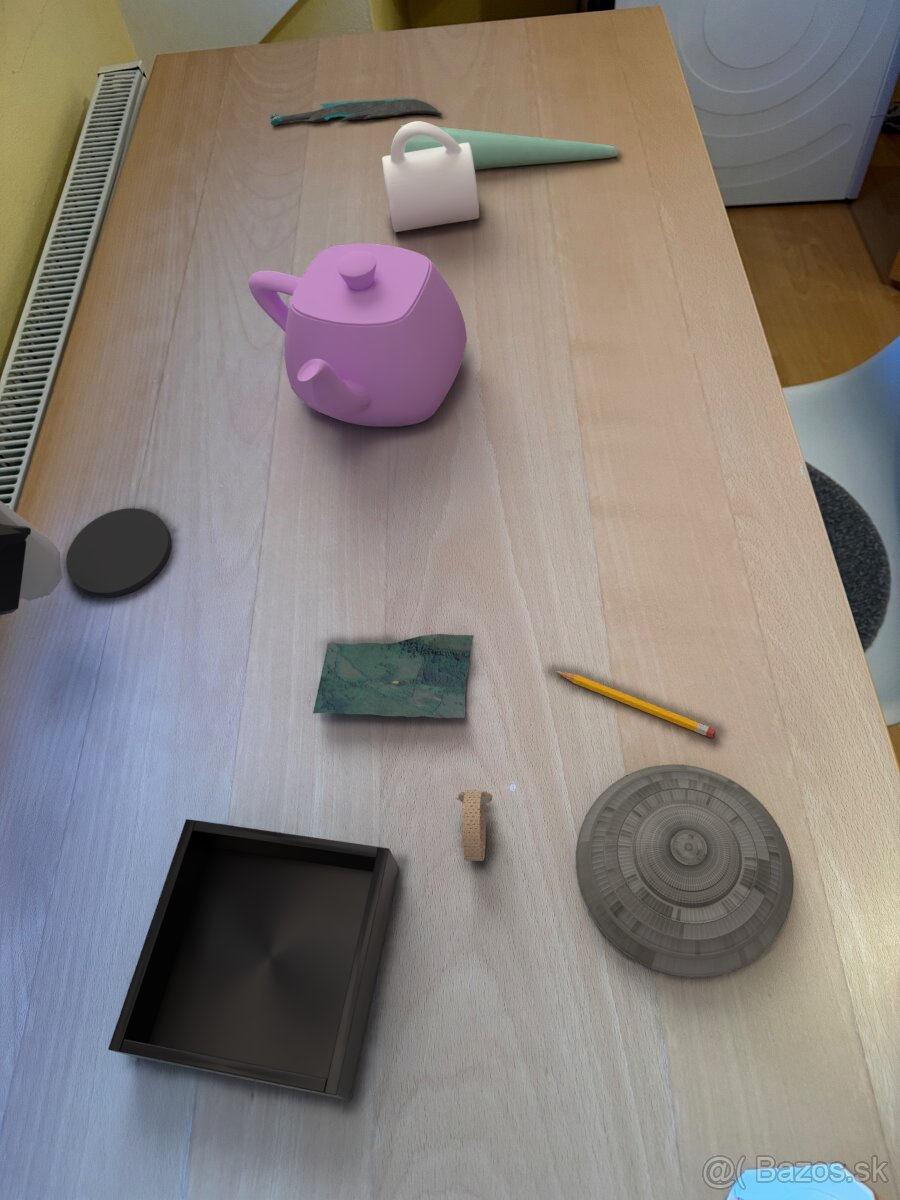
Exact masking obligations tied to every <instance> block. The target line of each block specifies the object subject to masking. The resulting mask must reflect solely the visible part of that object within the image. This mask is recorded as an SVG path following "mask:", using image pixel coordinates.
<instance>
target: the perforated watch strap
mask: <svg viewBox="0 0 900 1200" xmlns="http://www.w3.org/2000/svg"><path fill="white" fill-rule="evenodd" d="M455 798H456V800H457V801H459V802H461V803H462V804H463V805H462V845H463V855H464V858H463V859H464V860H465V861H466V862H484V860H485V856H486V841H487V840H486V836H487V833H486V832H487V825H486V822H487V821H486V817H487V816H486V807H488V804H490V802H492V800H493V795H492V793H490V792H488V791H484V790H479V789H469V790H464V791H461V792H459V793H458V796H456V797H455Z"/></svg>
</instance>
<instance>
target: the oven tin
mask: <svg viewBox="0 0 900 1200" xmlns="http://www.w3.org/2000/svg"><path fill="white" fill-rule="evenodd" d="M181 830H182V831H181V833H180V836H179V839H178V842H177V845H176V847H175V851H174V853H173V857H172V859H171V863H170V866H169V868H168V872H167V874H166V877H165V880H164V883H163V886H162V889H161V892H160V895H159V897H158V901H157V903H156V904H157V905H156V906H155V910H154V913H153V915H152V919H151V921H150V924H149V927H148V930H147V933H146V936H145V939H144V942H143V945H142V947H141V951H140V955H139V957H138V960H137V963H136V965H135V968H134V972H133V974H132V977H131V981H130V983H129V986H128V989H127V992H126V995H125V999H124V1000H123V1004H122V1007H121V1010H120V1012H119V1016H118V1019H117V1022H116V1025H115V1026H114V1031H113V1033H112V1037H111V1039H110V1042H109V1045H108V1051H111V1052H115V1053H119V1054H122V1055H124V1056H125V1055H126V1056H129V1057H132V1058H136V1059H142V1060H146V1061H151V1062H155V1063H160V1064H166V1065H171V1066H176V1067H181V1068H186V1069H190V1070H195V1071H201V1072H206V1073H211V1074H216V1075H220V1076H224V1077H229V1078H235V1079H240V1080H245V1081H250V1082H255V1083H260V1084H264V1085H268V1086H269V1085H270V1086H275V1087H280V1088H284V1089H290V1090H295V1091H299V1092H303V1093H309V1094H314V1095H319V1096H324V1097H329V1098H334V1099H339V1100H344V1101H349V1102H351V1101H352V1098H353V1094H354V1088H355V1084H356V1079H357V1074H358V1070H359V1069H358V1068H359V1064H360V1061H361V1060H360V1059H361V1054H362V1049H363V1044H364V1041H365V1034H366V1030H367V1025H368V1020H369V1015H370V1010H371V1006H372V1001H373V997H374V991H375V987H376V983H377V977H378V972H379V967H380V962H381V958H382V953H383V948H384V943H385V938H386V934H387V928H388V923H389V919H390V914H391V911H392V910H391V909H392V905H393V900H394V896H395V895H394V894H395V890H396V885H397V880H398V875H399V870H400V866H399V864H398V862H397V860H396V858H395V856H394V855H393V853H392V851H391V849H390V848H389V847H382V846H375V845H368V844H361V843H355V842H347V841H341V840H336V839H335V840H333V839H327V838H321V837H314V836H306V835H300V834H293V833H286V832H278V831H273V830H265V829H259V828H251V827H244V826H238V825H231V824H225V823H217V822H210V821H204V820H196V819H190V818H186V819H185V821H184V824H183V827H182V829H181Z"/></svg>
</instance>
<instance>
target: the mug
mask: <svg viewBox="0 0 900 1200" xmlns="http://www.w3.org/2000/svg"><path fill="white" fill-rule="evenodd" d="M403 125H404V126H403V127H402V128H401V127H400V128H399V129H398V130H397V132H396V133H395V135H394V136H393V139H392V142H391V147H390V154H389V155H383V156H382V158H381V163H382V172H383V178H384V187H385V194H386V200H387V204H388V209H389V216H390V220H391V225H392V229H393V232H395V233H398V232H405V231H410V230H417V229H423V228H429V227H434V226H442V225H449V224H453V223H459V222H465V221H472V220H478V219H479V217H480V204H479V194H478V186H477V185H478V184H477V177H476V170H475V169H474V162H473V156H472V150H471V146H470V144H469V143H468V142H467V143H461V144H458V143H457V142H456V141H455V140H454V139H453V138H452V137H451V136H450V135H449V134H447V133H446V132H445V131H443V130H442V129H440V128H438V127H439V126H438V127H437V126H436V125H435V124H432V123H429V122H426V121H420V120H417V121H416V120H415V121H411V122H410V121H409V122H408V123H406V124H403ZM416 135H425V136H429V137H431V138H433V139H435V140H437V141H438V142H440V143H441V144H442V145H443V147H437V148H431V149H425V150H419V151H413V152H407V153H404V152H405V147H406V144H407V142H408V141H409V139H410V138H412V137H414V136H416Z"/></svg>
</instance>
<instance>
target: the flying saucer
mask: <svg viewBox="0 0 900 1200" xmlns="http://www.w3.org/2000/svg"><path fill="white" fill-rule="evenodd" d="M575 872H576V878H577V879H576V880H577V884H578V887H579V892H580V895H581V898H582V900H583V902H584V904H585V907H586V908H587V911H588V913H589V914H590V917H591V918H592V920H593V921H594V923H595V924H596V926H597V927H598V928H599V929H600V931H601V932H602V934H604V936H605V937H606V938H607V939H608V940H609V941H610V942H611V943H612V944H613V945H614V946H615V947H616V948H617V949H619V950H620V951H621V952H622V953H624V954H625V955H627V956H628V957H629V958H631V959H633V960H634V961H636V962H638V963H639V964H642V965H643V966H646V967H647V968H650V969H653V970H655V971H658V972H661V973H665V974H667V975H672V976H677V977H685V978H707V977H713V976H720V975H724V974H727V973H730V972H732V971H735V970H738V969H740V968H742V967H744V966H746V965H747V964H749V963H751V962H753V961H754V960H755V959H757V958H759V956H761V955H762V954H763V953H764V952H765V951H766V950H767V949H768V948H769V947H770V946H772V944H773V942H775V940H776V938H778V936H779V935H780V933H781V931H782V929H783V927H784V925H785V923H786V921H787V919H788V916H789V913H790V910H791V906H792V902H793V896H794V886H795V885H794V884H795V875H794V867H793V861H792V857H791V853H790V848H789V846H788V843H787V841H786V838H785V836H784V834H783V832H782V829H781V828H780V826H779V825H778V823H777V822H776V820H775V817H773V816H772V814H771V813H770V811H769V810H768V809H767V808H766V807H765V806H764V805H763V803H762V802H761V801H759V799H758V798H757V797H756V796H754V795H753V794H752V793H751V792H750V791H749V790H747V789H746V788H744V787H743V786H742V785H740V784H739V783H738V782H736V781H734V780H733V779H731V778H729V777H726V776H725V775H723V774H720V773H718V772H715V771H713V770H709V769H706V768H703V767H698V766H696V765H695V766H694V765H687V764H676V763H675V764H659V765H653V766H649V767H645V768H641V769H638V770H635V771H632V772H631V773H628V774H626V775H624V776H623V777H621V778H619V779H617V780H616V781H615V782H613V783H612V784H611V785H610V786H608V787H607V788H606V789H604V791H603V792H602V793H601V794H600V795H599V796H598V797H597V798H596V800H595V801H594V802H593V803H592V805H591V806H590V807H589V809H588V811H587V813H586V815H585V817H584V819H583V822H582V823H581V827H580V830H579V832H578V835H577V841H576V848H575Z"/></svg>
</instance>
